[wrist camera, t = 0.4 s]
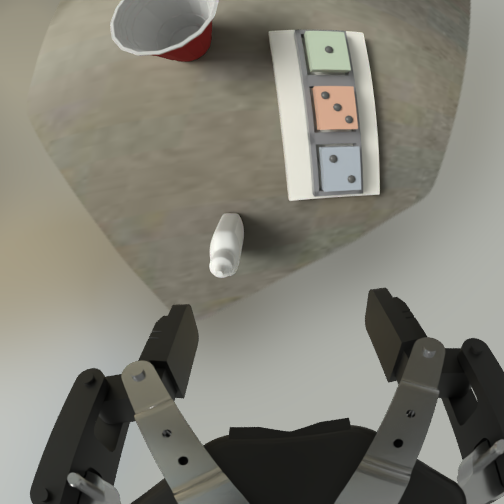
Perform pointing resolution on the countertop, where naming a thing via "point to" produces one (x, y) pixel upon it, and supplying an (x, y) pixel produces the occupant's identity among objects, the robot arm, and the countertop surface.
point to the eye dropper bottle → (226, 245)
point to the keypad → (304, 117)
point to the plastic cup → (164, 27)
